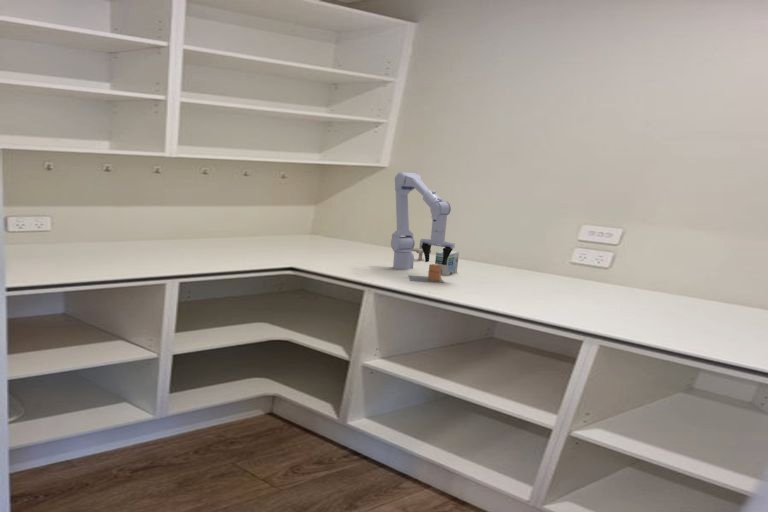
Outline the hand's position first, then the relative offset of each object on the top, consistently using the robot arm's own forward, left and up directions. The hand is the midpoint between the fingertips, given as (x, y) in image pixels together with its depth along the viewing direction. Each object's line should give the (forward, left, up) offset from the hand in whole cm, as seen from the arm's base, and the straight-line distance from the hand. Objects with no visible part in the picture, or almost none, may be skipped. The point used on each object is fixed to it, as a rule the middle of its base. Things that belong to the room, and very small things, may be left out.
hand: (435, 263), depth 217 cm
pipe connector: (-36, -31, -8) cm, 48 cm away
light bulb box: (-16, -4, -9) cm, 19 cm away
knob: (0, 0, -7) cm, 7 cm away
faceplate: (+2, -3, -8) cm, 9 cm away
